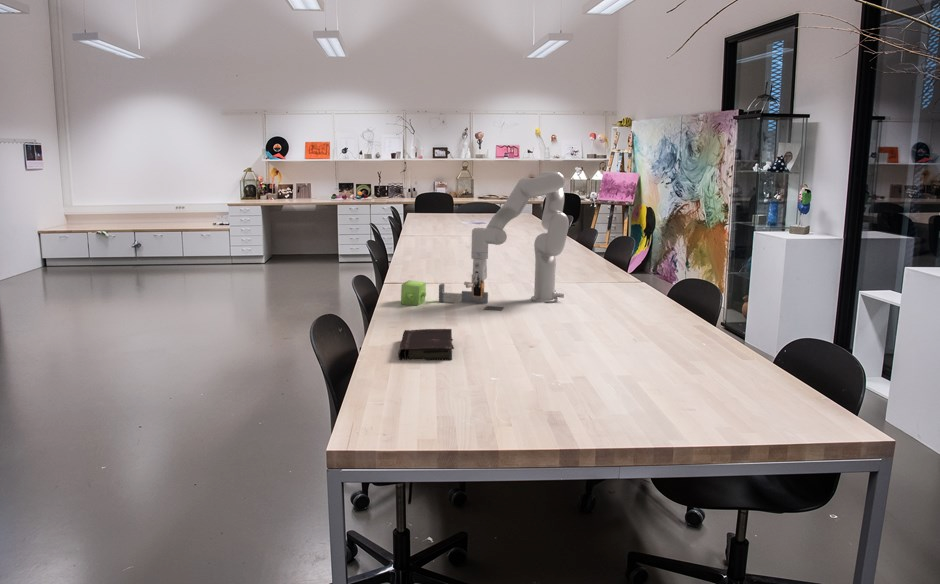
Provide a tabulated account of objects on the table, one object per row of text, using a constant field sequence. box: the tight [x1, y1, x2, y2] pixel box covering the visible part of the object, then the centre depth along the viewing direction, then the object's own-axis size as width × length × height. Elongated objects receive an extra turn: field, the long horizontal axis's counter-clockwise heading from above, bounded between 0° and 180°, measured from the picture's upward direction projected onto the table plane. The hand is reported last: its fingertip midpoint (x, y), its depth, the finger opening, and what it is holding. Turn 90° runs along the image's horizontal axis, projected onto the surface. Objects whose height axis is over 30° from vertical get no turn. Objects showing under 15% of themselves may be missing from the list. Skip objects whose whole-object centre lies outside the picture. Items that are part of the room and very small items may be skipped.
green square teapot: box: [400, 279, 427, 306], centre depth 321 cm, size 18×10×10 cm, turn 167°
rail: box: [438, 283, 489, 304], centre depth 324 cm, size 22×5×8 cm, turn 77°
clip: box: [473, 281, 485, 298], centre depth 322 cm, size 4×6×6 cm
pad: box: [482, 305, 505, 312], centre depth 312 cm, size 8×8×1 cm
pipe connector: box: [463, 273, 474, 291], centre depth 342 cm, size 10×10×10 cm
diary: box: [397, 328, 455, 361], centre depth 246 cm, size 19×25×5 cm
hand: (478, 294), depth 323 cm, fingers closed on clip, 5 cm apart
